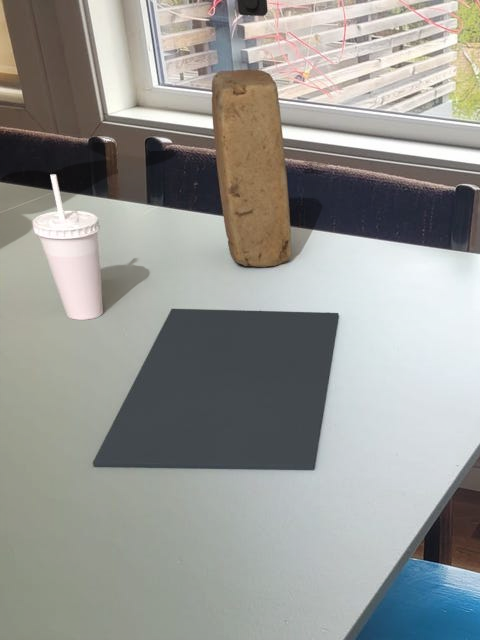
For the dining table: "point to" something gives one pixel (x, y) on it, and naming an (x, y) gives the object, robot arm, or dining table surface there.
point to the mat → (227, 393)
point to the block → (251, 167)
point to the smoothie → (72, 257)
